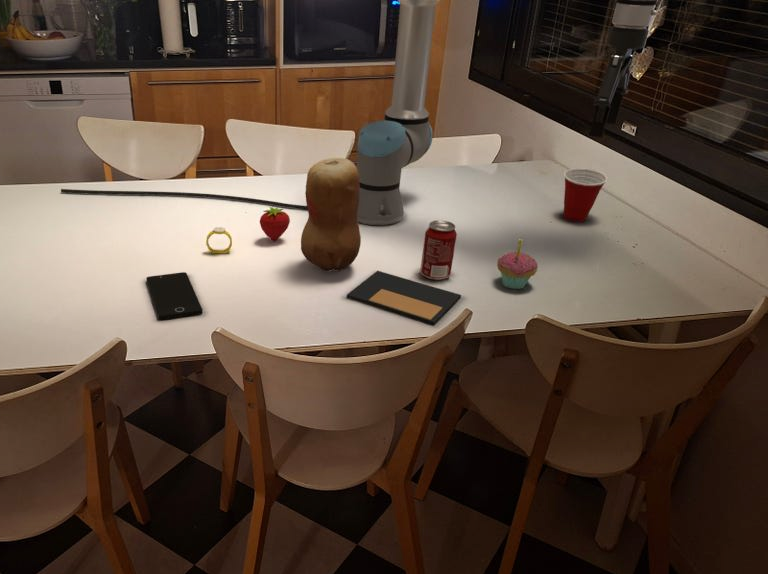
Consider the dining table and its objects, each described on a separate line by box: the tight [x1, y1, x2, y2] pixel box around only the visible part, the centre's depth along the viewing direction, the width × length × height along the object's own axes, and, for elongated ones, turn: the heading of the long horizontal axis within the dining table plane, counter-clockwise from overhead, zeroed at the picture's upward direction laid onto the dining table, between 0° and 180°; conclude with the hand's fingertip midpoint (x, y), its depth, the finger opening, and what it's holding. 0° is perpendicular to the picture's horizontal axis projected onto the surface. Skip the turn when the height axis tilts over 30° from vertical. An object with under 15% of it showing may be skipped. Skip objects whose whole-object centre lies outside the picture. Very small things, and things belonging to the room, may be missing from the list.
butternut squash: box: [300, 157, 362, 272], centre depth 149 cm, size 14×13×25 cm
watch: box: [205, 226, 233, 254], centre depth 161 cm, size 6×3×6 cm, turn 96°
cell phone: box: [146, 271, 203, 320], centre depth 144 cm, size 9×18×1 cm, turn 18°
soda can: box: [419, 219, 458, 281], centre depth 151 cm, size 7×7×12 cm
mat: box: [346, 270, 462, 326], centre depth 145 cm, size 20×14×1 cm
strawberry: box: [259, 204, 291, 242], centre depth 166 cm, size 6×8×10 cm
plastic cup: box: [563, 167, 609, 223], centre depth 181 cm, size 11×11×12 cm
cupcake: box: [496, 236, 539, 290], centre depth 148 cm, size 9×8×12 cm
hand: (602, 129), depth 155 cm, fingers open, 13 cm apart
